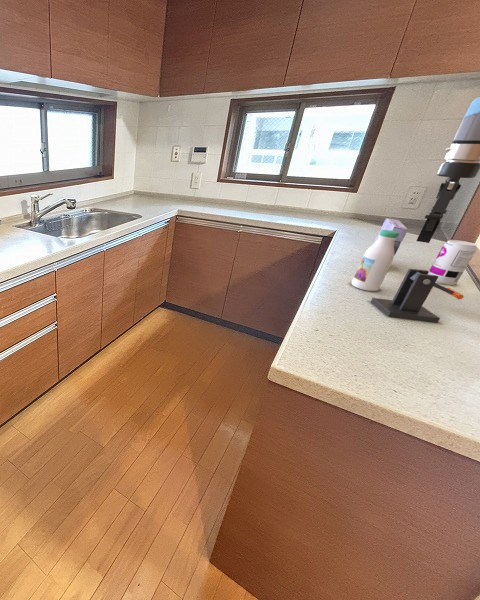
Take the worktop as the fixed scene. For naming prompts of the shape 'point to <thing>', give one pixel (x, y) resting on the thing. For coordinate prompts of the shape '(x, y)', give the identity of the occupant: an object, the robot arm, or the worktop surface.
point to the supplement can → (452, 261)
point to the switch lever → (443, 288)
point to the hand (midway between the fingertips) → (424, 238)
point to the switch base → (410, 298)
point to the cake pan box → (394, 226)
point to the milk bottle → (376, 262)
